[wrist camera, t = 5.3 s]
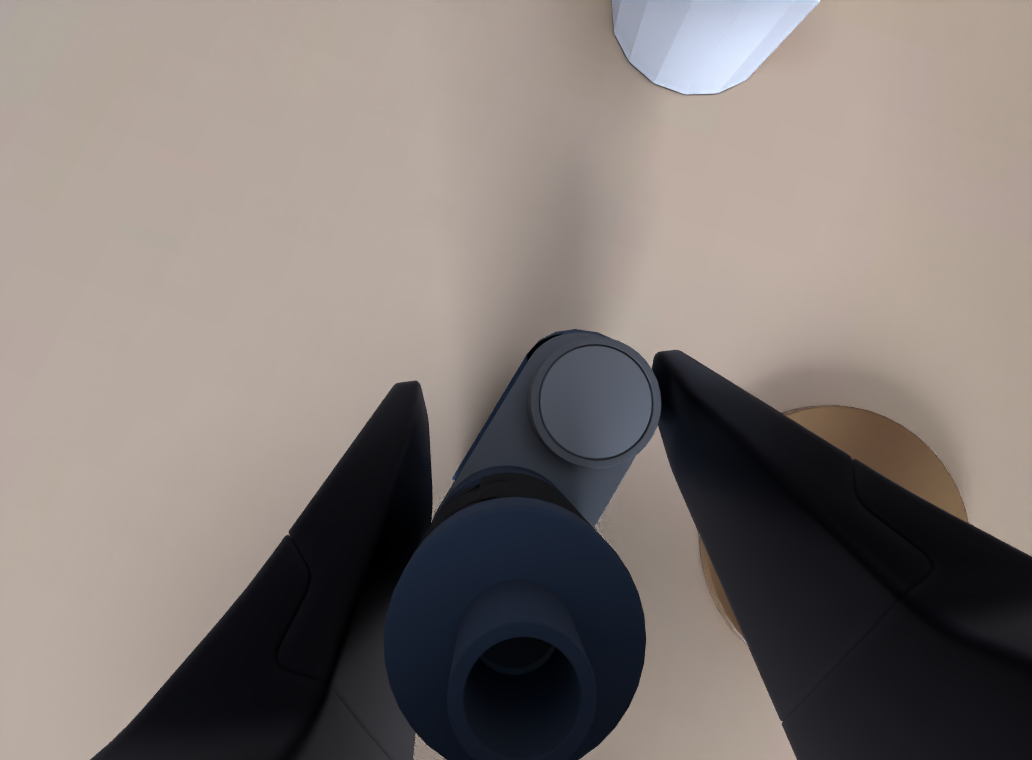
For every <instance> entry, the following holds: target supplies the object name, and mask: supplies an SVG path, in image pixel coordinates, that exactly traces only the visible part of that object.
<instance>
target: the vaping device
mask: <svg viewBox="0 0 1032 760" xmlns="http://www.w3.org/2000/svg"><path fill="white" fill-rule="evenodd" d="M660 413H661V394H660V389H659V385H658V381H657V379H656V377H655V375H654V372H653V370H652V369H651V367H650V366H649V364H648V363H647V362H646V360H645V359H644V358H643V357H642V356H641V355H640V354H639V353H638V352H636V351H635V350H634V349H632V348H631V347H630V346H628V345H626V344H624V343H622V342H620V341H617V340H614V339H611V338H609V337H607V336H605V335H602V334H600V333H598V332H591V331H584V330H578V329H573V330H566V331H559V332H555V333H553V334H551V335H549V336H547V337H545V338H543V339H541V340H539V341H538V342H537V343H536V344H535V346H534V347H533V348H532V349H531V350H530V351H529V353H528V354H527V355H526V357H525V358H524V360H523V362H522V363H521V365H520V367H519V368H518V370H517V372H516V373H515V375H514V377H513V378H512V380H511V382H510V383H509V385H508V387H507V388H506V390H505V391H504V393H503V395H502V396H501V398H500V400H499V401H498V403H497V405H496V406H495V408H494V410H493V411H492V413H491V415H490V416H489V418H488V420H487V421H486V423H485V425H484V426H483V428H482V430H481V431H480V433H479V435H478V436H477V438H476V440H475V441H474V443H473V445H472V446H471V448H470V450H469V451H468V453H467V455H466V456H465V458H464V460H463V461H462V463H461V465H460V466H459V468H458V470H457V471H456V473H455V475H454V476H453V478H452V479H453V480H455V482H454V483H453V485H452V487H451V488H450V490H449V491H448V493H447V495H446V496H445V498H444V500H443V501H442V503H441V505H440V506H439V508H438V509H437V511H436V513H435V516H434V518H433V520H432V523H431V525H430V527H429V529H428V530H427V531H428V532H426V533H427V534H425V535H424V537H423V539H422V540H421V542H420V544H419V545H418V547H417V549H416V551H415V552H414V554H413V556H412V557H411V559H410V561H409V562H408V564H407V566H406V567H405V569H404V571H403V573H402V575H401V577H400V579H399V581H398V583H397V585H396V587H395V589H394V591H393V595H392V598H391V601H390V605H389V608H388V611H387V615H386V623H385V631H384V659H385V666H386V670H387V675H388V680H389V684H390V687H391V690H392V692H393V695H394V697H395V700H396V702H397V704H398V707H399V709H400V710H401V712H402V713H403V715H404V717H405V718H406V720H407V721H408V723H409V724H410V726H411V728H412V729H413V730H414V731H415V732H416V733H417V734H418V735H419V736H420V737H421V739H422V740H423V741H424V742H425V743H426V744H427V745H428V746H429V747H431V748H432V749H433V750H435V751H436V752H437V753H439V754H440V755H441V756H443V757H444V758H445V759H447V760H579V759H580V758H582V757H583V756H584V755H586V754H587V753H588V752H590V751H591V750H592V749H594V748H595V747H597V746H598V745H599V744H600V743H601V742H602V741H603V740H604V739H605V738H606V737H607V736H608V735H609V734H610V733H611V731H612V730H613V729H614V728H615V727H616V726H617V724H618V723H619V721H620V720H621V718H622V717H623V715H624V714H625V712H626V711H627V709H628V708H629V705H630V703H631V701H632V699H633V696H634V694H635V692H636V690H637V687H638V685H639V681H640V677H641V673H642V669H643V665H644V658H645V646H646V632H645V619H644V613H643V609H642V605H641V601H640V597H639V593H638V591H637V589H636V586H635V584H634V582H633V580H632V577H631V575H630V573H629V571H628V570H627V568H626V567H625V565H624V563H623V562H622V560H621V559H620V557H619V556H618V554H617V553H616V552H615V551H614V550H613V549H612V547H611V546H610V545H609V544H608V543H607V542H606V541H605V540H604V539H603V538H602V536H601V535H600V534H599V533H598V532H597V531H596V530H595V529H594V527H595V525H596V524H597V522H598V520H599V518H600V517H601V515H602V513H603V512H604V510H605V508H606V506H607V505H608V503H609V501H610V499H611V498H612V496H613V494H614V492H615V491H616V489H617V487H618V486H619V484H620V482H621V480H622V479H623V477H624V475H625V473H626V472H627V470H628V468H629V466H630V465H631V463H632V461H633V460H634V458H635V456H636V455H637V454H638V453H639V452H640V451H641V450H642V449H643V448H644V447H645V446H646V445H647V443H648V442H649V441H650V439H651V438H652V436H653V434H654V432H655V430H656V428H657V425H658V422H659V418H660Z"/></svg>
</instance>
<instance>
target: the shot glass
mask: <svg viewBox="0 0 1032 760" xmlns="http://www.w3.org/2000/svg"><path fill="white" fill-rule="evenodd" d="M820 1H821V0H612V14H613V26H614V34H615V36H616V38H617V39H618V41H619V43H620V45H621V47H622V49H623V51H624V53H625V55H626V57H627V59H628V61H629V62H630V63H631V64H632V65H634V66H635V67H636V68H637V69H638V70H639V71H640V72H642V73H643V74H644V75H645V76H646V77H647V78H648V79H650V80H651V81H652V82H653V83H655V84H657V85H660V86H663V87H666V88H669V89H671V90H674V91H677V92H680V93H682V94H717V93H719V92H722V91H724V90H726V89H728V88H731V87H733V86H735V85H737V84H739V83H742V82H744V81H746V80H747V79H748V78H749V77H750V76H751V74H752V73H753V72H754V71H755V70H756V69H757V68H758V67H759V66H760V65H761V64H762V63H763V62H764V61H765V59H766V58H767V57H768V56H769V55H770V54H771V53H772V52H773V51H774V50H775V49H776V48H777V47H778V46H779V45H780V43H781V42H782V41H783V40H784V39H785V38H786V37H787V36H788V35H789V34H790V33H791V32H792V31H793V30H794V29H795V27H796V26H797V25H798V24H799V23H800V22H801V21H802V20H803V19H804V18H805V17H806V16H807V15H808V14H809V13H810V11H811V10H812V9H813V8H814V7H815V6H816V5H817V4H818V3H819V2H820Z"/></svg>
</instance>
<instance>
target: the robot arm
mask: <svg viewBox="0 0 1032 760" xmlns="http://www.w3.org/2000/svg"><path fill="white" fill-rule="evenodd" d="M652 370H653V372H654V375H655V377H656V379H657V381H658V385H659V389H660V394H661V413H660V418H659V422H658V427H659V430H660V433H661V437H662V440H663V443H664V447H665V450H666V454H667V457H668V460H669V463H670V466H671V469H672V472H673V474H674V477H675V479H676V482H677V484H678V486H679V489H680V491H681V493H682V495H683V498H684V500H685V502H686V505H687V507H688V509H689V511H690V514H691V516H692V518H693V521H694V523H695V525H696V528H697V530H698V532H699V534H700V537H701V539H702V541H703V544H704V546H705V548H706V551H707V553H708V555H709V557H710V560H711V562H712V564H713V567H714V569H715V571H716V574H717V576H718V578H719V580H720V583H721V585H722V587H723V590H724V592H725V594H726V597H727V599H728V601H729V603H730V606H731V608H732V610H733V613H734V615H735V617H736V619H737V622H738V624H739V626H740V629H741V631H742V633H743V636H744V638H745V640H746V642H747V645H748V647H749V649H750V652H751V654H752V656H753V659H754V661H755V663H756V665H757V668H758V670H759V672H760V675H761V677H762V679H763V682H764V684H765V686H766V688H767V691H768V693H769V695H770V698H771V700H772V702H773V705H774V707H775V709H776V711H777V714H778V716H779V718H780V720H781V721H783V722H782V726H783V728H784V731H785V733H786V735H787V737H788V740H789V742H790V744H791V747H792V749H793V751H794V754H795V756H796V758H797V760H1032V557H1031V556H1029V555H1028V554H1026V553H1024V552H1022V551H1020V550H1018V549H1016V548H1014V547H1012V546H1011V545H1009V544H1007V543H1005V542H1003V541H1001V540H999V539H997V538H995V537H994V536H992V535H990V534H988V533H986V532H984V531H982V530H980V529H978V528H977V527H975V526H973V525H971V524H969V523H967V522H965V521H963V520H961V519H959V518H958V517H956V516H954V515H952V514H950V513H948V512H947V511H945V510H943V509H941V508H939V507H937V506H936V505H934V504H932V503H930V502H928V501H927V500H925V499H923V498H921V497H919V496H917V495H916V494H914V493H912V492H910V491H909V490H907V489H905V488H904V487H902V486H900V485H899V484H897V483H895V482H894V481H892V480H890V479H888V478H887V477H885V476H883V475H882V474H880V473H878V472H877V471H875V470H873V469H872V468H870V467H869V466H867V465H865V464H864V463H862V462H860V461H859V460H857V459H853V460H852V457H851V456H850V455H849V454H847V453H846V452H844V451H842V450H841V449H839V448H837V447H836V446H834V445H833V444H831V443H829V442H828V441H826V440H824V439H823V438H821V437H820V436H818V435H816V434H815V433H813V432H811V431H810V430H808V429H807V428H805V427H803V426H802V425H800V424H799V423H797V422H795V421H794V420H792V419H790V418H789V417H787V416H786V415H784V414H782V413H781V412H779V411H777V410H776V409H774V408H773V407H771V406H769V405H768V404H766V403H764V402H763V401H761V400H760V399H758V398H756V397H755V396H753V395H751V394H750V393H748V392H747V391H745V390H743V389H742V388H740V387H738V386H737V385H735V384H734V383H732V382H730V381H729V380H727V379H726V378H724V377H722V376H721V375H719V374H717V373H716V372H714V371H713V370H711V369H709V368H708V367H706V366H704V365H703V364H701V363H700V362H698V361H696V360H695V359H693V358H691V357H690V356H688V355H687V354H685V353H683V352H682V351H679V350H670V351H662V352H658V353H657V354H655V356H654V359H653V365H652ZM431 519H432V473H431V455H430V436H429V421H428V415H427V410H426V406H425V402H424V398H423V393H422V389H421V385H420V383H419V382H418V381H409V382H400V383H396V384H395V385H394V386H393V387H392V389H391V390H390V391H389V393H388V394H387V396H386V397H385V398H384V400H383V401H382V403H381V404H380V405H379V407H378V408H377V409H376V411H375V412H374V414H373V415H372V416H371V418H370V419H369V421H368V422H367V423H366V425H365V426H364V428H363V429H362V430H361V432H360V433H359V434H358V436H357V437H356V439H355V440H354V441H353V443H352V444H351V446H350V447H349V448H348V450H347V451H346V453H345V454H344V455H343V457H342V458H341V459H340V461H339V462H338V464H337V465H336V466H335V468H334V469H333V471H332V472H331V473H330V475H329V476H328V478H327V479H326V480H325V482H324V483H323V485H322V486H321V487H320V489H319V490H318V491H317V493H316V494H315V496H314V497H313V498H312V500H311V501H310V503H309V504H308V505H307V507H306V508H305V510H304V511H303V512H302V514H301V515H300V516H299V518H298V519H297V521H296V522H295V523H294V525H293V526H292V528H291V529H290V530H289V535H290V536H289V535H286V536H285V537H284V538H283V540H282V541H281V543H280V544H279V545H278V547H277V548H276V549H275V551H274V552H273V554H272V555H271V556H270V558H269V559H268V560H267V562H266V563H265V564H264V566H263V567H262V568H261V570H260V571H259V572H258V574H257V575H256V576H255V577H254V579H253V580H252V581H251V583H250V584H249V585H248V587H247V588H246V589H245V590H244V592H243V593H242V594H241V595H240V596H239V598H238V599H237V600H236V601H235V602H234V604H233V605H232V606H231V607H230V608H229V610H228V611H227V612H226V613H225V614H224V616H223V617H222V618H221V619H220V620H219V622H218V623H217V624H216V625H215V626H214V627H213V629H212V630H211V631H210V632H209V633H208V634H207V635H206V637H205V638H204V639H203V640H202V641H201V642H200V644H199V645H198V646H197V647H196V648H195V649H194V650H193V652H192V653H191V654H190V655H189V656H188V657H187V658H186V660H185V661H184V662H183V663H182V664H181V665H180V667H179V668H178V669H177V670H176V671H175V672H174V673H173V675H172V676H171V677H170V678H169V679H168V680H167V682H166V683H165V684H164V685H163V686H162V687H161V688H160V690H159V691H158V692H157V693H156V694H155V695H154V697H153V698H152V699H151V700H150V701H149V702H148V703H147V705H146V706H145V707H144V708H143V709H142V710H141V711H140V712H139V714H138V715H137V716H136V717H135V718H134V719H133V720H132V721H131V722H130V723H129V724H128V726H127V727H126V728H125V729H123V730H122V731H121V732H120V733H119V734H118V735H117V736H116V737H115V738H114V739H113V740H112V741H111V742H110V743H109V744H108V745H107V746H105V747H104V748H103V749H102V750H101V751H100V752H99V753H97V754H96V755H95V756H94V757H93V758H92V759H90V760H413V755H414V741H415V731H414V730H413V729H412V728H411V726H410V724H409V723H408V721H407V720H406V718H405V717H404V715H403V713H402V712H401V710H400V709H399V707H398V704H397V702H396V700H395V697H394V695H393V692H392V690H391V687H390V684H389V680H388V675H387V670H386V666H385V659H384V631H385V623H386V615H387V611H388V608H389V605H390V601H391V598H392V595H393V591H394V589H395V587H396V585H397V583H398V581H399V579H400V577H401V575H402V573H403V571H404V569H405V567H406V566H407V564H408V562H409V561H410V559H411V557H412V556H413V554H414V552H415V551H416V549H417V547H418V545H419V544H420V542H421V540H422V539H423V537H424V535H425V534H427V533H426V532H428V531H427V530H428V529H429V527H430V525H431Z"/></svg>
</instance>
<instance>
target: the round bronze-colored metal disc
mask: <svg viewBox="0 0 1032 760" xmlns="http://www.w3.org/2000/svg"><path fill="white" fill-rule="evenodd" d="M782 414H784V415H786V416H787V417H789V418H790V419H792V420H794V421H795V422H797V423H799V424H800V425H802V426H803V427H805V428H807V429H808V430H810V431H811V432H813V433H815V434H816V435H818V436H820V437H821V438H823V439H824V440H826V441H828V442H829V443H831V444H833V445H834V446H836V447H837V448H839V449H841V450H842V451H844V452H846V453H847V454H849V455H850V456H851V457H852V460H853V459H857V460H859V461H860V462H862V463H864V464H865V465H867V466H869V467H870V468H872V469H873V470H875V471H877V472H878V473H880V474H882V475H883V476H885V477H887V478H888V479H890V480H892V481H894V482H895V483H897V484H899V485H900V486H902V487H904V488H905V489H907V490H909V491H910V492H912V493H914V494H916V495H917V496H919V497H921V498H923V499H925V500H927V501H928V502H930V503H932V504H934V505H936V506H937V507H939V508H941V509H943V510H945V511H947V512H948V513H950V514H952V515H954V516H956V517H958V518H959V519H961V520H963V521H965V522H967V523H968V519H967V514H966V510H965V507H964V504H963V501H962V499H961V496H960V493H959V491H958V489H957V487H956V485H955V483H954V481H953V479H952V477H951V475H950V474H949V472H948V471H947V469H946V468H945V466H944V465H943V463H942V462H941V460H940V459H939V458H938V457H937V456H936V455H935V453H934V452H933V451H932V450H931V449H930V448H929V447H928V446H927V445H926V444H925V443H924V442H923V441H922V440H921V439H920V438H918V437H917V436H916V435H915V434H913V433H912V432H911V431H909V430H908V429H906V428H905V427H903V426H902V425H900V424H898V423H896V422H895V421H893V420H891V419H889V418H887V417H885V416H882V415H879V414H877V413H874V412H871V411H868V410H864V409H860V408H855V407H848V406H837V405H833V406H811V407H805V408H800V409H794V410H791V411H788V412H785V413H782ZM700 552H701V560H702V565H703V570H704V575H705V578H706V581H707V584H708V587H709V590H710V593H711V595H712V597H713V599H714V601H715V603H716V606H717V608H718V609H719V611H720V613H721V614H722V616H723V617H724V619H725V620H726V622H727V623H728V625H729V626H730V627H731V628H732V630H733V631H734V632H735V633H736V634H737V636H738V637H739V638H740V639H741V640H742V641H743V642H744V643H746V644H747V642H746V640H745V638H744V636H743V633H742V631H741V629H740V626H739V624H738V622H737V619H736V617H735V615H734V613H733V610H732V608H731V606H730V603H729V601H728V599H727V597H726V594H725V592H724V590H723V587H722V585H721V583H720V580H719V578H718V576H717V574H716V571H715V569H714V567H713V564H712V562H711V560H710V557H709V555H708V553H707V551H706V548H705V546H704V544H703V541H702V539H701V537H700Z"/></svg>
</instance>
